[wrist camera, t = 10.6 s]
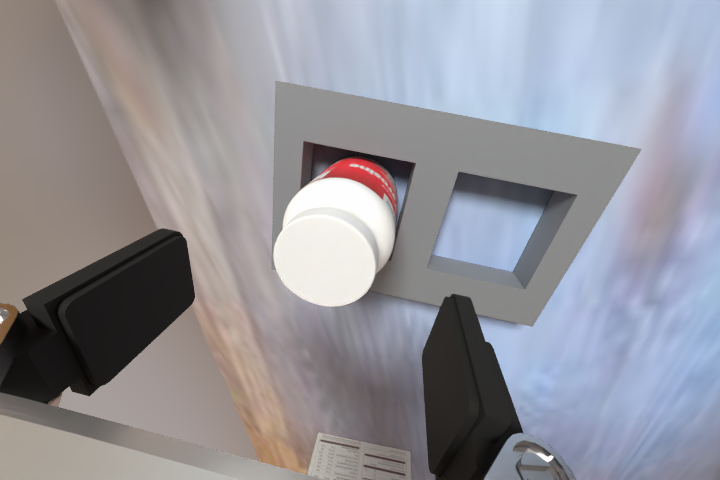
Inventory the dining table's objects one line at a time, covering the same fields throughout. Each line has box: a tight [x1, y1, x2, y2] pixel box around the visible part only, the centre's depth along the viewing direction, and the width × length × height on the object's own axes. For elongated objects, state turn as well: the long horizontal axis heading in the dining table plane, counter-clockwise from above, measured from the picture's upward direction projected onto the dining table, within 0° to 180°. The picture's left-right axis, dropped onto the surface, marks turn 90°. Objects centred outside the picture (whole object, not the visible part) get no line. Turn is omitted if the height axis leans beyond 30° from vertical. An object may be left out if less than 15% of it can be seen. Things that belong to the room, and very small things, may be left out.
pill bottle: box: [273, 156, 397, 307], centre depth 17 cm, size 6×6×11 cm
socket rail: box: [272, 81, 642, 327], centre depth 20 cm, size 22×14×2 cm, turn 80°
